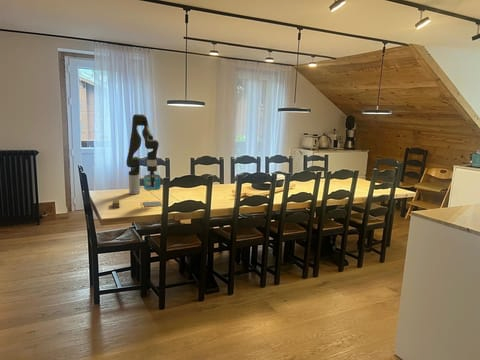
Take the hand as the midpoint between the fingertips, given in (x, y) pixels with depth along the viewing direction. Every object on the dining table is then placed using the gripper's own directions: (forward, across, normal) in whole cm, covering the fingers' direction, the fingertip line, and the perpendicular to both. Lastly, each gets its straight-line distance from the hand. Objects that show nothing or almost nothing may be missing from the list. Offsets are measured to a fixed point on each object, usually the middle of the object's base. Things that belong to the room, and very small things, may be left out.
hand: (152, 186), depth 294 cm
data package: (+3, 0, 0) cm, 3 cm away
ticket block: (+15, 0, -28) cm, 32 cm away
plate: (+15, 0, 0) cm, 15 cm away
